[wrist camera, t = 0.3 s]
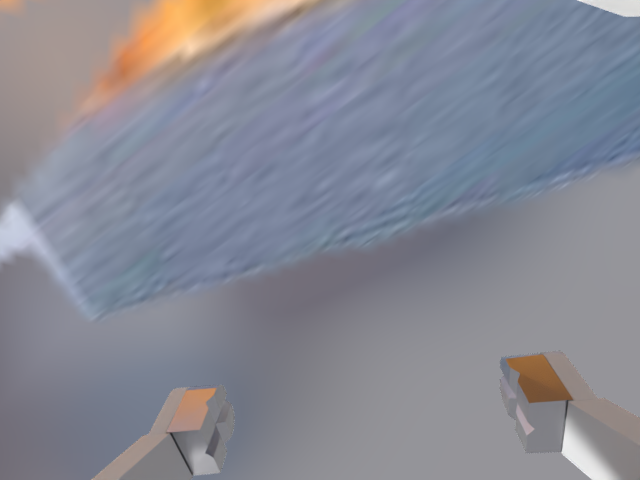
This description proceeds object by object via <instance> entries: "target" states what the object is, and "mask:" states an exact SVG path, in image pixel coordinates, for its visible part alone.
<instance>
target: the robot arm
mask: <svg viewBox="0 0 640 480" xmlns="http://www.w3.org/2000/svg"><path fill="white" fill-rule="evenodd" d="M500 368H501V370H502V372H503V375H504V376H503V377H502V378H501V379H500V391H501V396H502V400H503V403H504V406H505V409H506V411H507V413H508V415H509V416H510V417H512V418H513V419H514V420H515V431H516V433H517V435H518V437H519V439H520V441H521V443H522V445H523V448H524V450H525V452H526V453H544V452H562V454H563V455H564V456H565V457H566V458H567V459H569V460H570V461H571V462H572V463H573V464H574V465H576V466H577V467H578V468H579V469H580V470H582V471H583V472H584V473H585V474H586V475H587V476H588V477H590V478H591V479H592V480H640V418H639V417H637V416H636V415H634V414H632V413H630V412H628V411H627V410H625V409H623V408H621V407H619V406H618V405H616V404H614V403H612V402H611V401H609V400H607V399H605V398H599V399H598V398H597V396H596V395H595V394H594V392H593V391H592V390H591V389H590V387H589V386H588V384H587V383H586V382H585V380H584V379H583V378H582V377H581V375H580V374H579V373H578V371H577V370H576V369H575V367H574V366H573V365H572V363H571V362H570V361H569V359H568V358H567V357H566V355H565V354H564V353H563V352H561V351H553V352H543V353H534V354H525V355H515V356H506V357H502V358H501V360H500ZM226 394H227V393H226V390H225V388H224V386H223V385H209V386H195V387H187V388H175V389H174V390H172V391H171V392H170V394H169V396H168V398H167V400H166V402H165V404H164V406H163V408H162V409H161V411H160V413H159V415H158V417H157V419H156V421H155V423H154V425H153V427H152V428H151V430H150V432H149V434H148V435H143V436H142V437H141V438H140V439H139V440H137V442H135V443H134V444H133V445H132V446H130V447H129V448H128V449H127V450H126V451H124V452H123V453H122V454H121V455H120V456H119V457H117V458H116V459H115V460H114V461H113V462H111V463H110V464H109V465H108V466H107V467H106V468H104V469H103V470H102V471H101V472H100V473H98V474H97V475H96V476H95V477H94V478H92V479H91V480H191V479H192V475H203V474H213V473H220V472H221V469H222V466H223V463H224V460H225V456H226V453H227V449H226V447H225V445H224V444H225V443H226V442H227V441H228V440H229V439H230V438H231V436H232V432H233V429H234V418H235V417H234V410H233V408H232V405H231V403H229V402H228V401H226V400H225V397H226Z"/></svg>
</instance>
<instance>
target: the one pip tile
mask: <svg viewBox="0 0 640 480" xmlns="http://www.w3.org/2000/svg"><path fill="white" fill-rule="evenodd" d="M578 1H581V2H584V3H587V4H590V5H592V6H595V7H598V8H601V9H604V10H607V11H610V12H613V13H616V14H618V15H621V16H624V17H632V16H640V0H578Z"/></svg>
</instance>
